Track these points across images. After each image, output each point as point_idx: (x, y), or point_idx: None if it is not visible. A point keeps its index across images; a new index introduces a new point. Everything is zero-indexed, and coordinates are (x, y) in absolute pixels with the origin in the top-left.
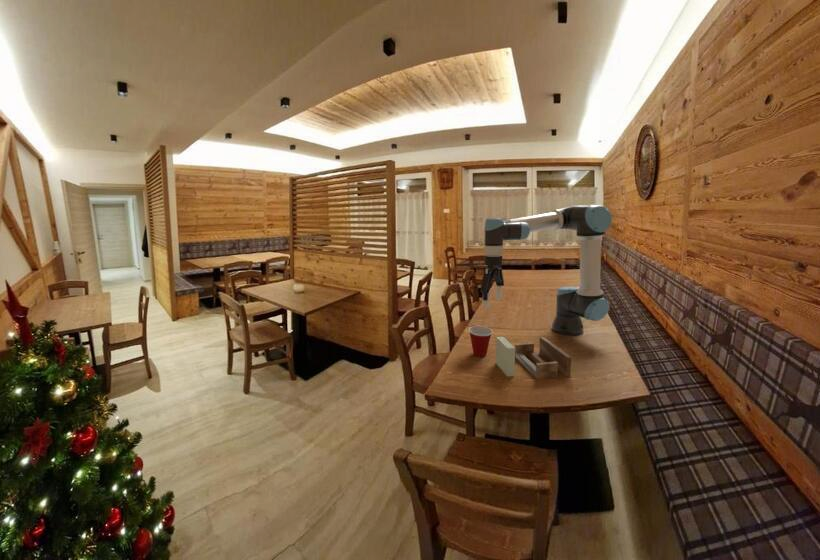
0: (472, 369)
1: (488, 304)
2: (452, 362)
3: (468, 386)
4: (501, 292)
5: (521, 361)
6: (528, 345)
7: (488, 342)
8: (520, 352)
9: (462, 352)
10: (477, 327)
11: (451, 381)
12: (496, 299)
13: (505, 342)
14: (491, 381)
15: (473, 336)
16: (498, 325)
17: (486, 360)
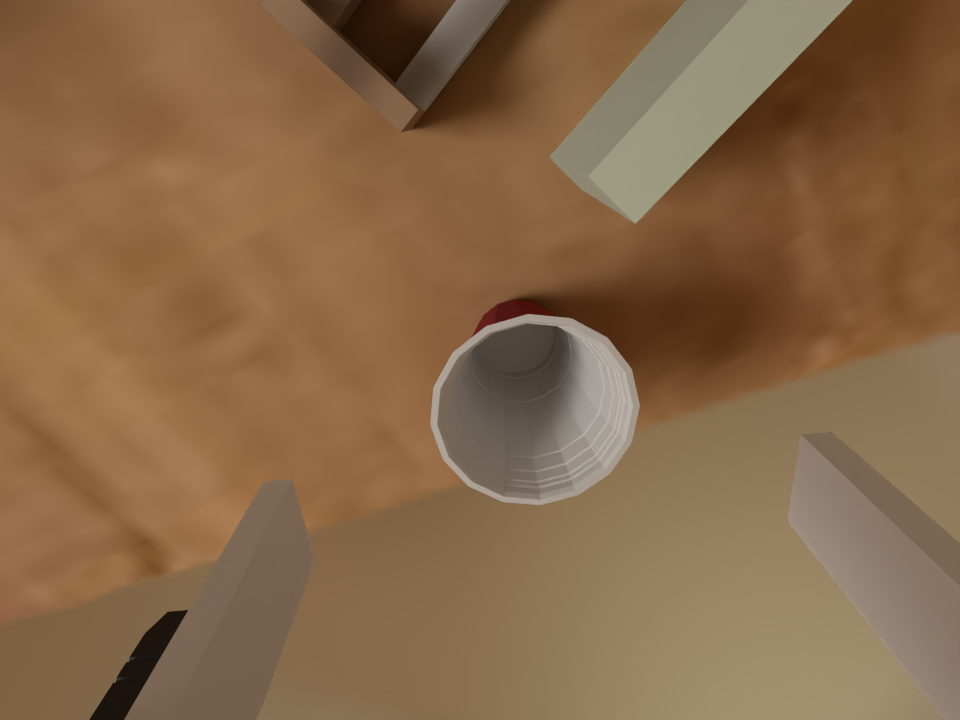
0: (734, 268)
1: (871, 471)
2: (702, 402)
3: (948, 176)
4: (203, 591)
5: (485, 31)
6: (327, 24)
7: (522, 313)
8: (397, 82)
9: None
10: (469, 469)
11: (922, 285)
12: (307, 546)
13: (727, 79)
14: (838, 87)
15: (614, 414)
16: (9, 471)
17: (576, 261)
